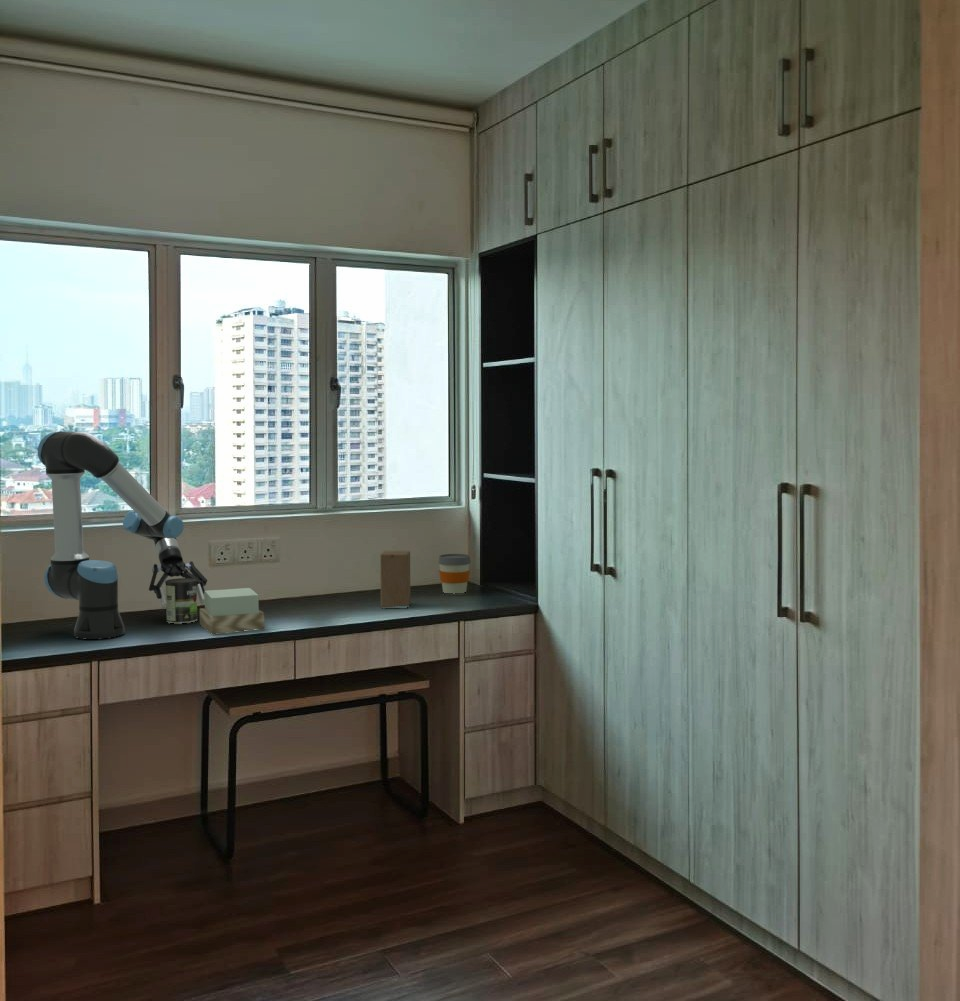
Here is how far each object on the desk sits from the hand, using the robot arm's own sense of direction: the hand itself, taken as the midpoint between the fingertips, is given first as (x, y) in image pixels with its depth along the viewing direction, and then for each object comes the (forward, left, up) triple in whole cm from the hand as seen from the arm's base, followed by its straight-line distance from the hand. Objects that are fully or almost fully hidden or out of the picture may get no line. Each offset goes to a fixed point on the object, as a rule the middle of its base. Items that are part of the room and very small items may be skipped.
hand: (183, 603), depth 342 cm
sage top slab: (+12, -16, -1) cm, 20 cm away
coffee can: (0, +2, -7) cm, 7 cm away
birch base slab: (+12, -15, -7) cm, 21 cm away
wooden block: (+75, -8, -7) cm, 75 cm away
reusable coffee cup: (+106, +5, -7) cm, 106 cm away
